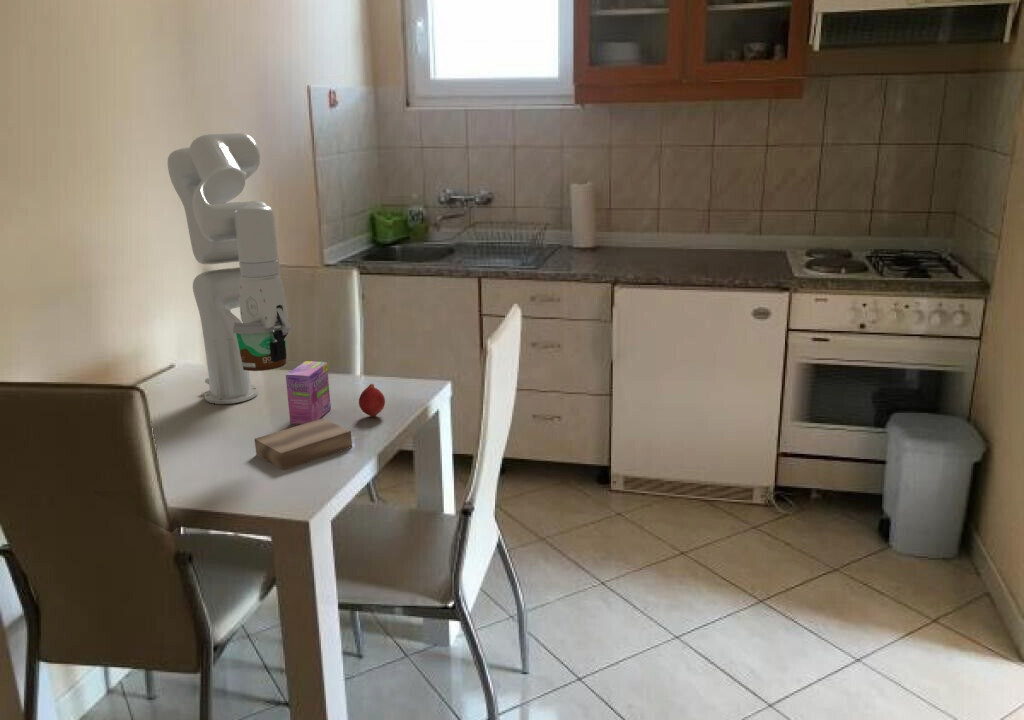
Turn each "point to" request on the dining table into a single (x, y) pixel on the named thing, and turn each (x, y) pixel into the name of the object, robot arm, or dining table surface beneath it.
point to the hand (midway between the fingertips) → (270, 357)
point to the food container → (256, 346)
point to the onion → (371, 401)
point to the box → (308, 392)
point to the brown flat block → (303, 443)
